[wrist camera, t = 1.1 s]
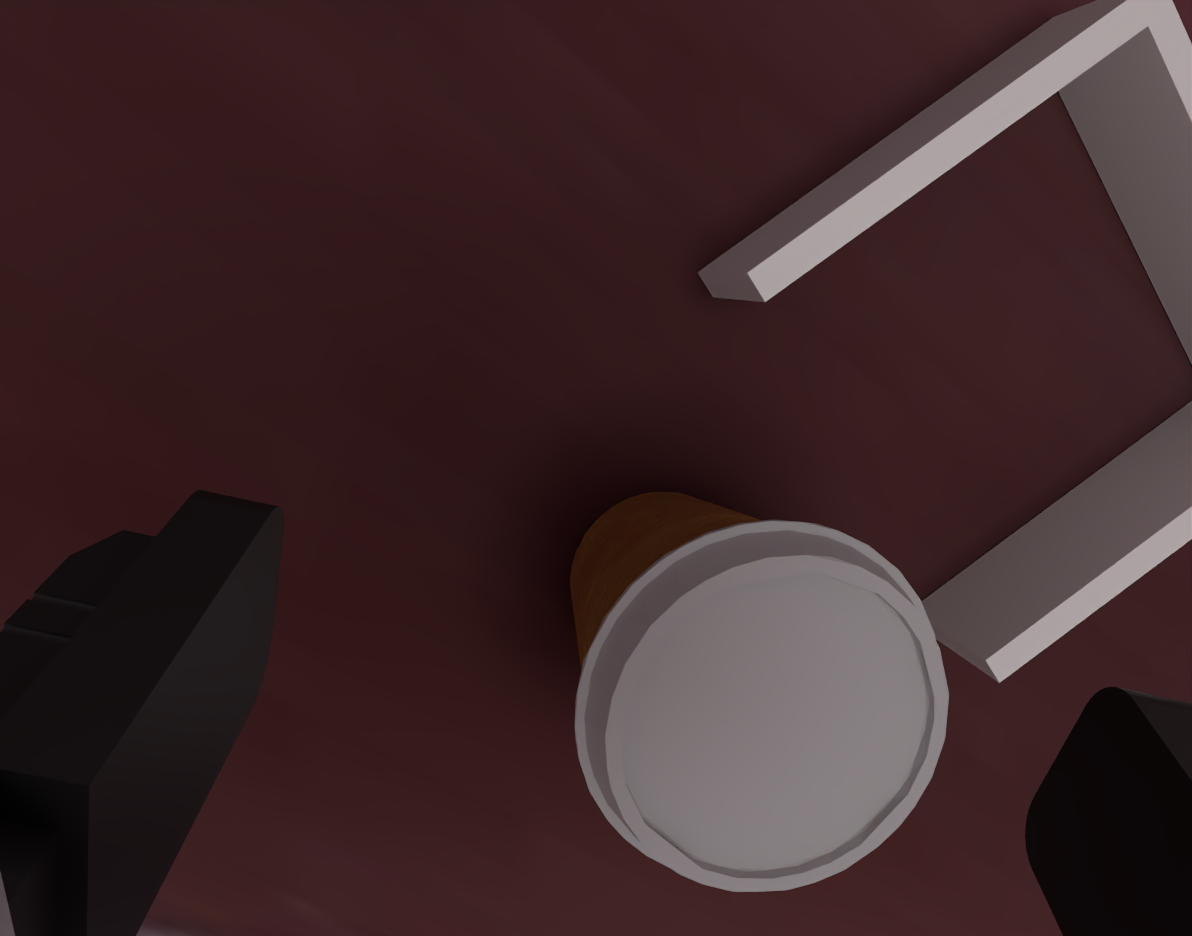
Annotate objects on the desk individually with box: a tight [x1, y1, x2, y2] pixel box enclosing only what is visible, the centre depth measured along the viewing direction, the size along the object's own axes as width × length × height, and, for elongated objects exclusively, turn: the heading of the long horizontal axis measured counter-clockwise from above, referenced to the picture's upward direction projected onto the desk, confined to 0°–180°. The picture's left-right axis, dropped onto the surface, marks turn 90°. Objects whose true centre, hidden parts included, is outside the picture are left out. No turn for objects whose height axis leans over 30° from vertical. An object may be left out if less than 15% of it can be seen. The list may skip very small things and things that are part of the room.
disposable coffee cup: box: [570, 492, 949, 892], centre depth 29 cm, size 10×10×12 cm
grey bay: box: [697, 0, 1192, 683], centre depth 33 cm, size 16×15×5 cm
